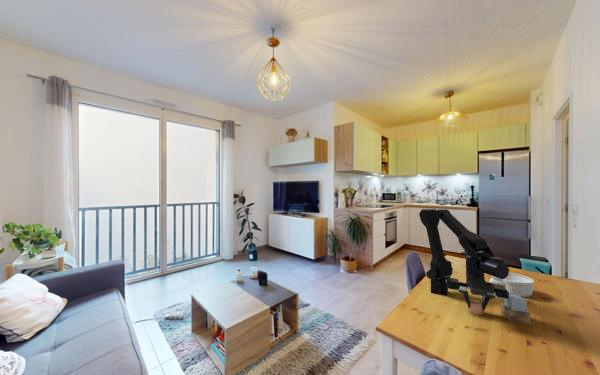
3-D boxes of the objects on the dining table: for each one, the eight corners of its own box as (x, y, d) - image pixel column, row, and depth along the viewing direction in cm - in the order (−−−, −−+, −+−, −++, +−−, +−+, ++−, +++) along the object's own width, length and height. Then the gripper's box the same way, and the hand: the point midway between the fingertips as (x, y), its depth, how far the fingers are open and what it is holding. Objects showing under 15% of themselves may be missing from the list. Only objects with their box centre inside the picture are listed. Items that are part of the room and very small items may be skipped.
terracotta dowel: (470, 313, 86) (470, 303, 86) (468, 308, 90) (468, 298, 90) (483, 316, 84) (483, 305, 84) (481, 311, 88) (481, 301, 88)
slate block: (511, 310, 81) (511, 299, 81) (504, 304, 86) (504, 293, 86) (527, 312, 80) (526, 301, 80) (519, 306, 84) (519, 295, 84)
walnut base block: (509, 321, 81) (509, 310, 81) (501, 313, 87) (500, 303, 87) (530, 325, 79) (530, 313, 79) (520, 316, 85) (520, 305, 85)
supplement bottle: (509, 300, 97) (508, 277, 97) (494, 299, 98) (494, 276, 98) (500, 294, 102) (500, 273, 102) (487, 293, 103) (486, 272, 103)
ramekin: (503, 295, 101) (502, 280, 101) (490, 284, 113) (490, 270, 113) (541, 300, 96) (541, 284, 96) (524, 288, 108) (524, 274, 108)
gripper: (448, 271, 85) (449, 312, 85) (513, 281, 76) (514, 327, 75) (446, 263, 95) (446, 300, 94) (503, 270, 85) (505, 311, 85)
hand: (475, 309), depth 87 cm, fingers closed on terracotta dowel, 4 cm apart
